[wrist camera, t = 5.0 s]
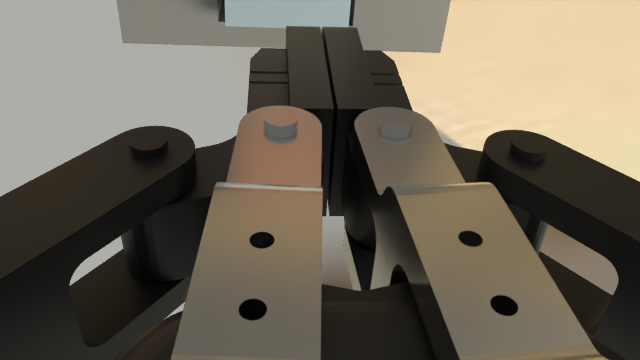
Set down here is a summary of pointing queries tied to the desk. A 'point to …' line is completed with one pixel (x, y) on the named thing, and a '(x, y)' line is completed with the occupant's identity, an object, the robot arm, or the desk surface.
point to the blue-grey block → (287, 13)
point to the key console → (209, 28)
